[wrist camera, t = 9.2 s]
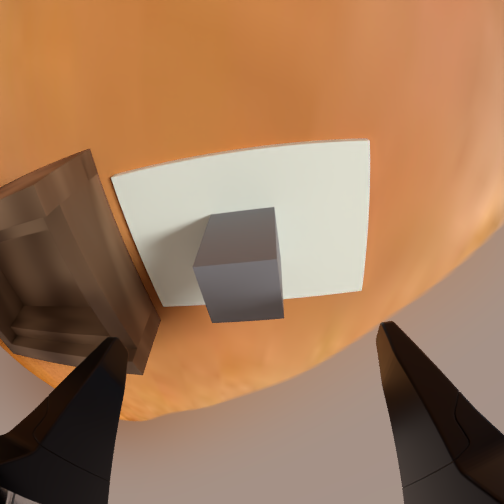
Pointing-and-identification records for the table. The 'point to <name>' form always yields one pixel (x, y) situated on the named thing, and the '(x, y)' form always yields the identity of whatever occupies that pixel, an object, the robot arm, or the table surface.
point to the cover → (252, 225)
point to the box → (68, 269)
